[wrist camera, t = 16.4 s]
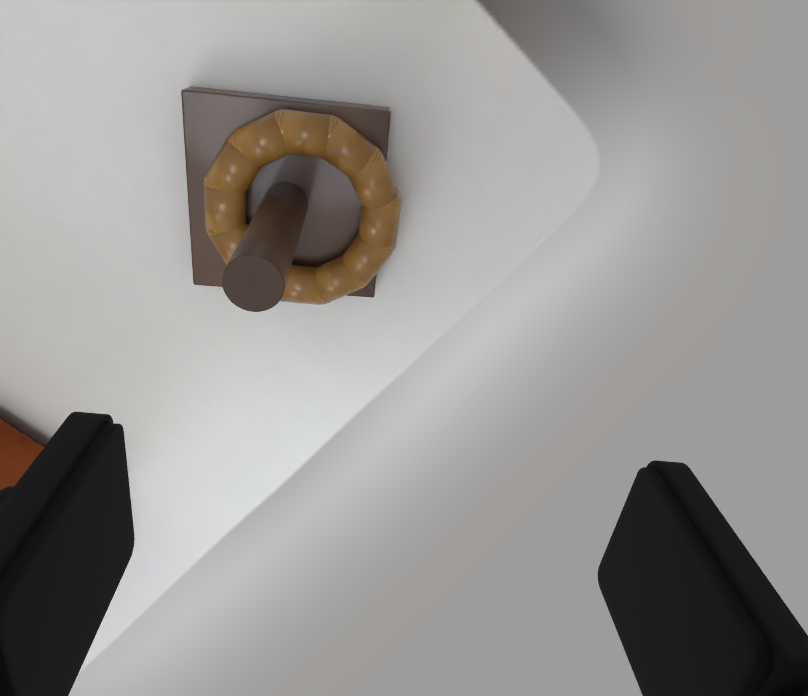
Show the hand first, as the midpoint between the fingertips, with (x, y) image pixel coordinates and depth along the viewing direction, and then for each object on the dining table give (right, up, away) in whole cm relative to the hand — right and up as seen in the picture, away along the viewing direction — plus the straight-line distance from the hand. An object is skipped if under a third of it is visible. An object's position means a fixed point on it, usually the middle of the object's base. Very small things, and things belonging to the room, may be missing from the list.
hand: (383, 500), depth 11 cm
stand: (-5, +10, +19) cm, 22 cm away
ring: (-4, +9, +17) cm, 19 cm away
